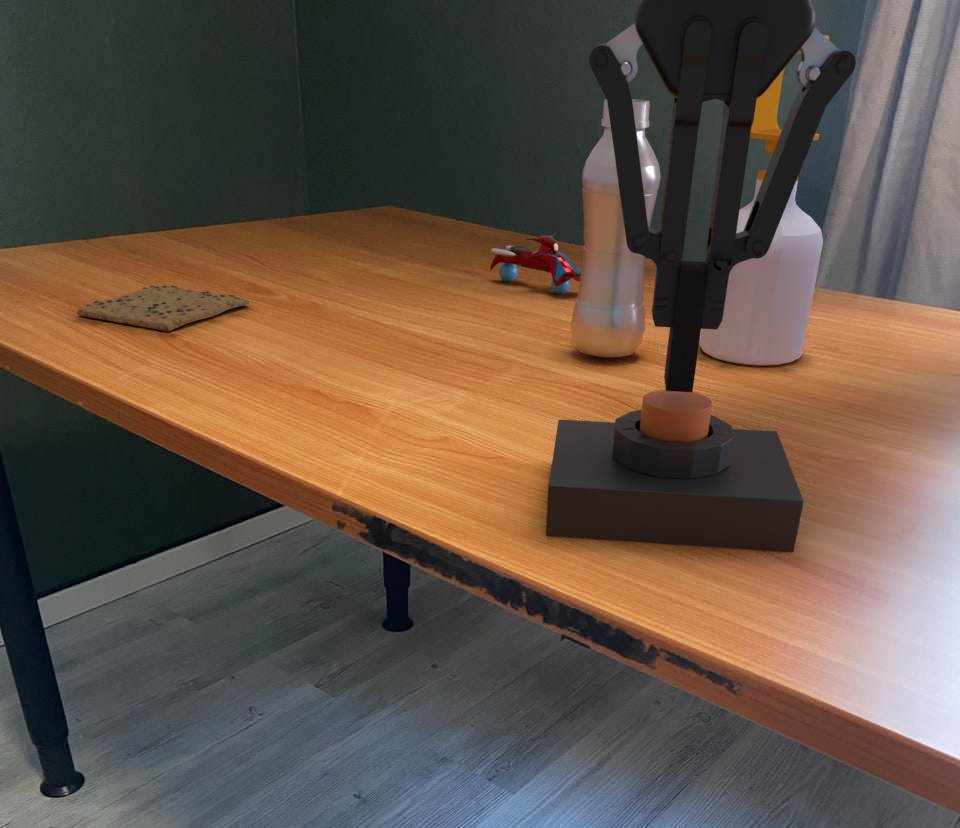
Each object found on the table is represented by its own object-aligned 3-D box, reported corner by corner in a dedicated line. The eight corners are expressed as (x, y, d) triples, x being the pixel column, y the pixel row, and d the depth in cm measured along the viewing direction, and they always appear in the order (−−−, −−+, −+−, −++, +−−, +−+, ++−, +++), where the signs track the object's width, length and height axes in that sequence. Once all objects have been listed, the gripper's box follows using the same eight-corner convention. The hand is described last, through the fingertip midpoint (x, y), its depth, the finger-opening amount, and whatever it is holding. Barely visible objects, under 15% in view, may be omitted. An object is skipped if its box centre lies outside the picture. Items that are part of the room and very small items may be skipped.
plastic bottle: (619, 342, 92) (641, 97, 82) (656, 362, 87) (684, 103, 76) (556, 348, 90) (570, 97, 79) (590, 369, 85) (610, 104, 74)
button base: (769, 477, 65) (782, 403, 62) (793, 553, 56) (810, 469, 53) (555, 465, 66) (560, 391, 64) (545, 536, 57) (550, 454, 55)
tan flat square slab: (74, 315, 97) (72, 304, 96) (162, 290, 106) (161, 281, 106) (168, 331, 92) (166, 321, 92) (251, 304, 101) (250, 294, 101)
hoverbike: (561, 301, 105) (564, 245, 102) (481, 282, 112) (482, 229, 109) (592, 293, 108) (596, 239, 105) (512, 275, 115) (514, 224, 112)
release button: (705, 424, 60) (709, 390, 59) (710, 447, 57) (715, 413, 56) (638, 420, 61) (642, 387, 59) (639, 444, 57) (643, 409, 56)
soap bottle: (760, 373, 84) (816, 36, 71) (678, 349, 90) (716, 33, 77) (822, 355, 89) (885, 36, 76) (740, 333, 95) (786, 34, 82)
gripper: (596, -145, 42) (561, 398, 55) (913, -143, 41) (803, 412, 53) (599, -123, 48) (567, 359, 61) (874, -121, 47) (784, 371, 60)
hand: (678, 383), depth 57 cm, fingers closed
